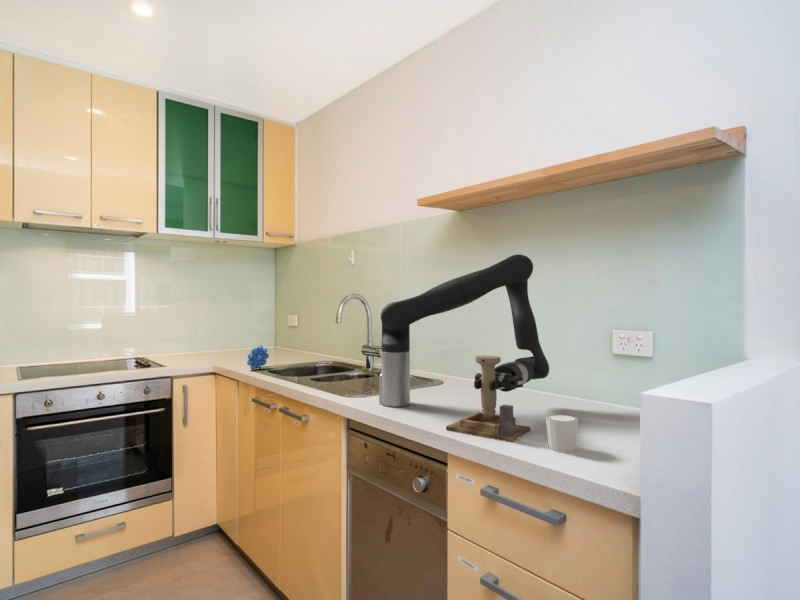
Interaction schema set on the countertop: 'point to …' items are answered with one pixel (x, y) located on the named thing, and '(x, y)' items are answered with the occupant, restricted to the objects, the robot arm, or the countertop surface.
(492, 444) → the countertop surface
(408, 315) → the robot arm
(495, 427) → the seat board
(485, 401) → the handle
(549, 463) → the countertop surface
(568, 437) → the white faceted cup
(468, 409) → the countertop surface
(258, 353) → the grapes
